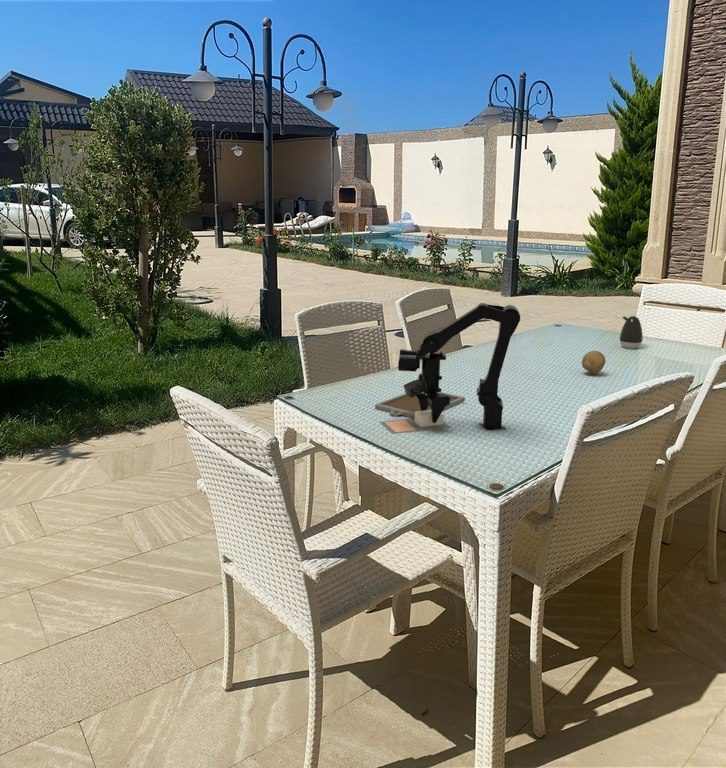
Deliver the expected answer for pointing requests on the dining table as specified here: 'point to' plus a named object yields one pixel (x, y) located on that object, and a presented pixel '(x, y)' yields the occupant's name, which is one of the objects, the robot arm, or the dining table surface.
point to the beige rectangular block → (427, 418)
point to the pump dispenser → (631, 333)
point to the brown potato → (593, 362)
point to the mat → (408, 426)
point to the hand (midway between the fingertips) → (428, 418)
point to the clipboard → (411, 404)
